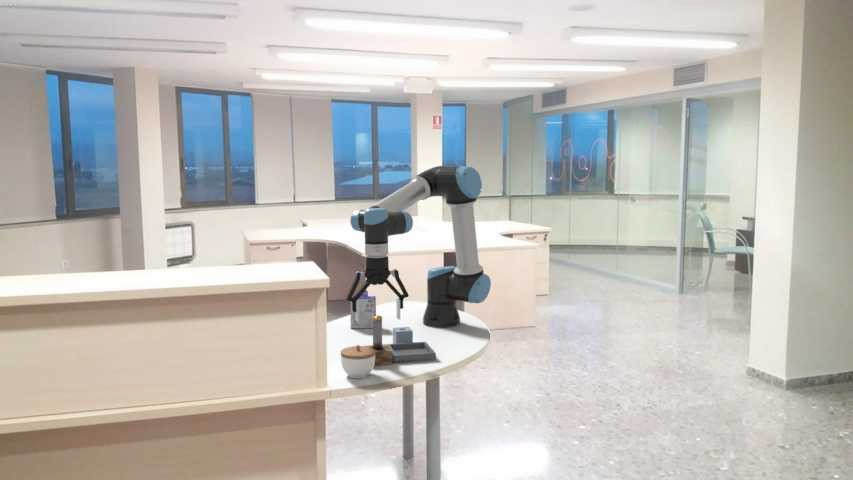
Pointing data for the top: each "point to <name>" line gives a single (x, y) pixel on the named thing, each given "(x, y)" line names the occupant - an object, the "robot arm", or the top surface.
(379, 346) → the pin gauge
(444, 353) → the top surface
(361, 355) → the lidded jar
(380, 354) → the go block
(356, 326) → the ink cartridge box
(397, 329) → the block
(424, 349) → the tray
